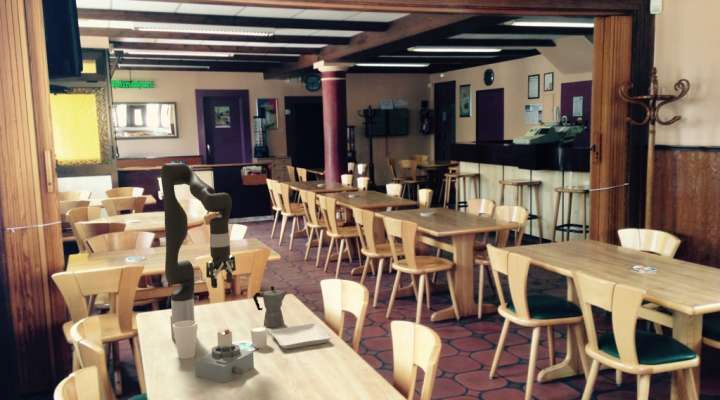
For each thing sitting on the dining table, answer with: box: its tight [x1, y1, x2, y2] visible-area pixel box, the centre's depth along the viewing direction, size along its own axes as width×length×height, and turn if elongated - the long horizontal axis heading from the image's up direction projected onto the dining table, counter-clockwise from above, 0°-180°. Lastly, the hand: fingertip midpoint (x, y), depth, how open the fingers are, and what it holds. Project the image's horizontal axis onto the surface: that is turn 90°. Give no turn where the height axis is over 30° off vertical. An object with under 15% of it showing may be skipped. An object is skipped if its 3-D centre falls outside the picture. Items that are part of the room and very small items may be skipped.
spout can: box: [217, 329, 233, 352], centre depth 233 cm, size 5×5×9 cm
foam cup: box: [173, 320, 199, 360], centre depth 248 cm, size 10×9×13 cm
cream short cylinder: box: [249, 326, 268, 349], centre depth 259 cm, size 7×7×7 cm
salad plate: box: [269, 323, 331, 350], centre depth 264 cm, size 21×21×3 cm
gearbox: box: [194, 343, 255, 384], centre depth 231 cm, size 17×16×8 cm
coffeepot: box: [252, 285, 288, 329], centre depth 285 cm, size 15×9×18 cm, turn 103°
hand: (222, 285), depth 247 cm, fingers open, 8 cm apart
